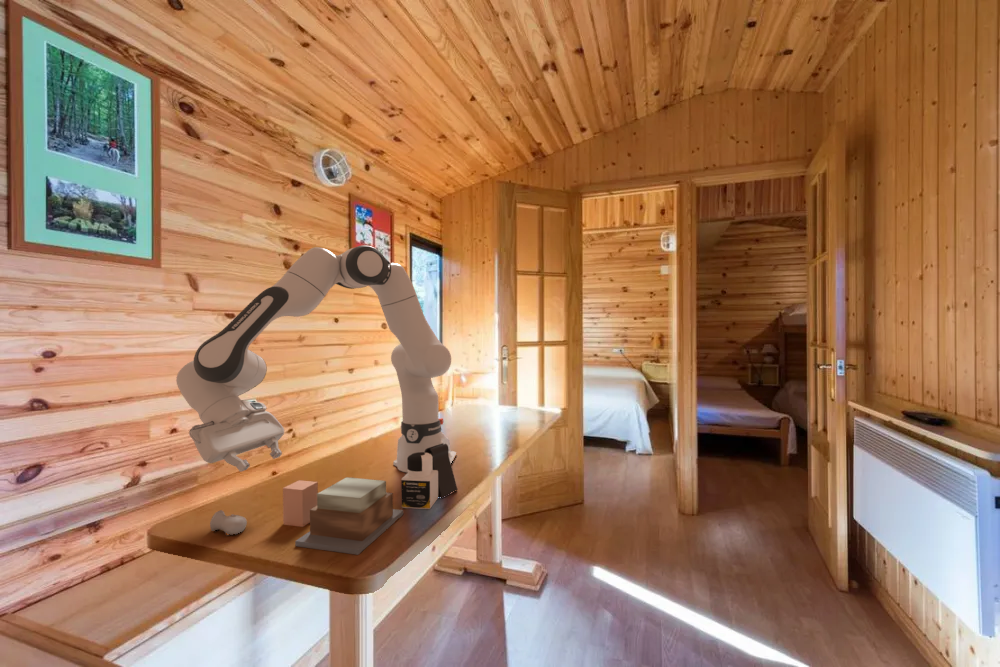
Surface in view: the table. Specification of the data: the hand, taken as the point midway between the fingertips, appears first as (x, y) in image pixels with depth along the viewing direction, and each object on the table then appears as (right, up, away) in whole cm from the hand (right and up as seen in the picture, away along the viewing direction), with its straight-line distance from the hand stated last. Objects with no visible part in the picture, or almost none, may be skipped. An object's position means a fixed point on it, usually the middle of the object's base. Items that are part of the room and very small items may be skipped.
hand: (262, 462), depth 98 cm
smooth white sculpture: (-3, -13, -7) cm, 15 cm away
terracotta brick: (+10, -12, -3) cm, 16 cm away
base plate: (+23, -12, -7) cm, 27 cm away
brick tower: (+23, -12, -7) cm, 27 cm away
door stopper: (+38, -12, +14) cm, 42 cm away
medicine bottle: (+35, -12, +6) cm, 38 cm away
